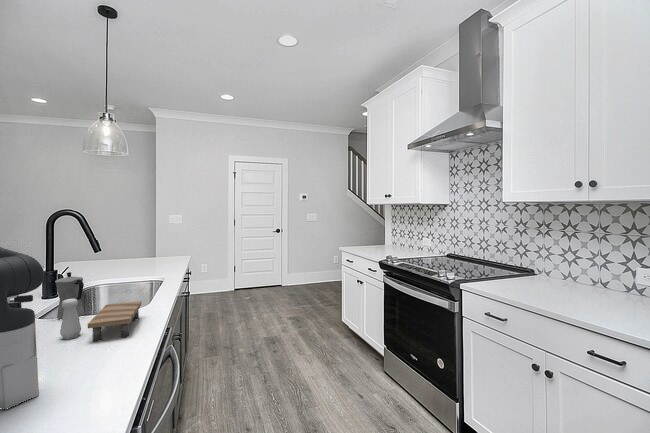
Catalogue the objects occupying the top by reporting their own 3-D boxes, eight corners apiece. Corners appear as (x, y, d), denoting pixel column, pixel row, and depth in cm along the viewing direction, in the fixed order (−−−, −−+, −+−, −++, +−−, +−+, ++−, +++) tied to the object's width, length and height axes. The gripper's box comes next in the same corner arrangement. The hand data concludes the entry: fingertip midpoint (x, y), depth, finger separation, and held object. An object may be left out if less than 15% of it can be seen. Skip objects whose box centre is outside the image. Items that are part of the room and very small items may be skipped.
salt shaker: (69, 341, 108) (68, 302, 108) (55, 339, 110) (53, 301, 109) (85, 334, 114) (84, 297, 114) (72, 333, 115) (70, 296, 115)
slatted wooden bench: (130, 337, 110) (129, 318, 110) (88, 343, 106) (87, 323, 106) (141, 316, 131) (141, 300, 131) (107, 320, 127) (106, 304, 127)
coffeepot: (48, 317, 132) (46, 273, 131) (74, 310, 140) (72, 268, 140) (70, 322, 125) (68, 276, 125) (96, 315, 134) (94, 271, 133)
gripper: (-57, 302, 94) (16, 296, 100) (-28, 290, 107) (35, 285, 113) (-56, 328, 94) (17, 320, 101) (-27, 312, 107) (36, 306, 114)
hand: (27, 301), depth 107 cm, fingers open, 8 cm apart
